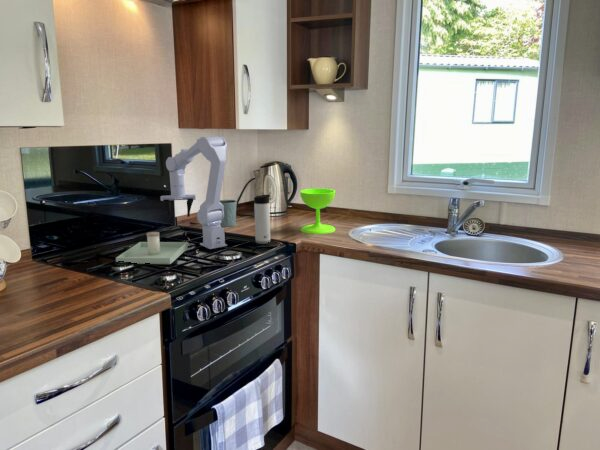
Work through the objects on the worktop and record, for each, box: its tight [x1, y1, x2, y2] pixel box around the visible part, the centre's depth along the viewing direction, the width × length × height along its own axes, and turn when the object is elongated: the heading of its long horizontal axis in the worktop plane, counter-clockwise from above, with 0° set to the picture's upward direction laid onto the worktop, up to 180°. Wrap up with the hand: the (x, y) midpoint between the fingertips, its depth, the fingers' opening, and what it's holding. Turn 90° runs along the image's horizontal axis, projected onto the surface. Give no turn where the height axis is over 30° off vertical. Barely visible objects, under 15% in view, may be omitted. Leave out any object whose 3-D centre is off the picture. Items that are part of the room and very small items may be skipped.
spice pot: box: [146, 231, 161, 255], centre depth 182 cm, size 5×5×8 cm
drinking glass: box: [219, 199, 238, 228], centre depth 229 cm, size 10×10×12 cm
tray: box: [115, 241, 189, 265], centre depth 183 cm, size 22×20×2 cm
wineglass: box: [299, 188, 336, 235], centre depth 218 cm, size 16×16×18 cm
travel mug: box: [253, 194, 271, 245], centre depth 198 cm, size 6×7×20 cm
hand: (179, 216), depth 207 cm, fingers open, 7 cm apart
